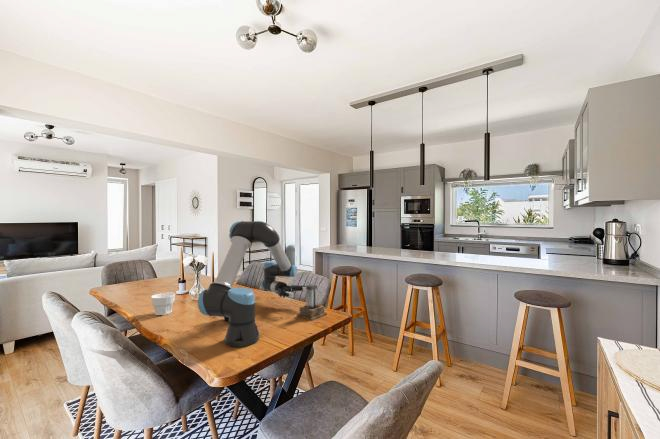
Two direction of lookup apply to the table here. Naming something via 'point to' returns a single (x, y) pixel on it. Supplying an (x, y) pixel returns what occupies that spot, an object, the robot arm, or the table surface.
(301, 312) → the box
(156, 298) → the cup
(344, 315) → the table surface
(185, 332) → the table surface
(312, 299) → the steel tongs
